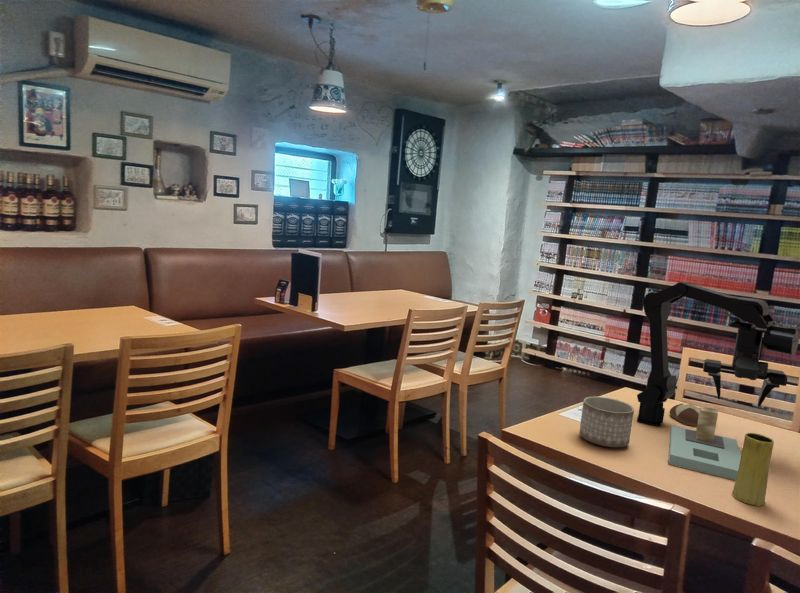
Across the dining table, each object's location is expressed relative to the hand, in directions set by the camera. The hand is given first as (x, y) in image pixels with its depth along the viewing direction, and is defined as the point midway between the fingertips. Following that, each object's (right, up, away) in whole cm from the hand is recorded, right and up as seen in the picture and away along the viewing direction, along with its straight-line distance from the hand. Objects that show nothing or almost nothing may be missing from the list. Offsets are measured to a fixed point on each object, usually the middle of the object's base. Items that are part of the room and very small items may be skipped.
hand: (738, 402), depth 145 cm
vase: (-15, -16, -27) cm, 34 cm away
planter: (-36, -11, 0) cm, 38 cm away
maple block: (-9, -10, 0) cm, 13 cm away
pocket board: (-12, -13, -4) cm, 18 cm away
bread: (-1, -10, +23) cm, 25 cm away
